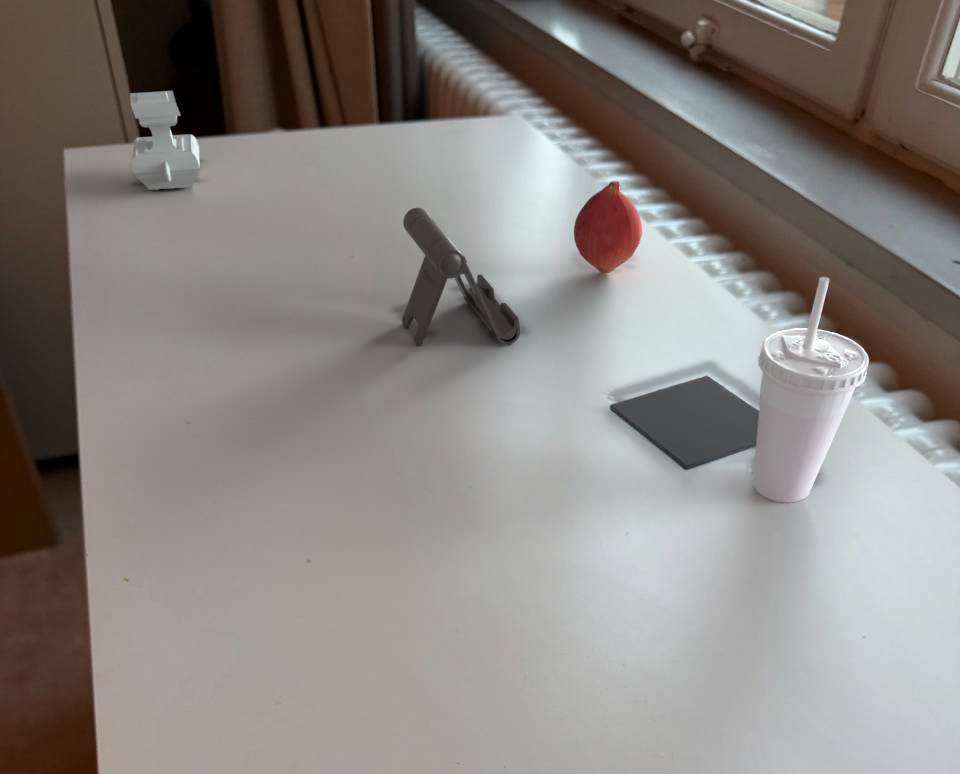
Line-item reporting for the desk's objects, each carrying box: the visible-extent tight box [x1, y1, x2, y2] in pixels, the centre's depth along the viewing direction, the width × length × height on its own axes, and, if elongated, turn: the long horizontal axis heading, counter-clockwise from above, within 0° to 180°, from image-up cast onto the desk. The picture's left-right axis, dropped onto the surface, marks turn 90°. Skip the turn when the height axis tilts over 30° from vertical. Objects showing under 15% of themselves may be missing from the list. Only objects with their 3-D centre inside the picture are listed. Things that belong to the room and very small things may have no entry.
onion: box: [573, 180, 643, 275], centre depth 89 cm, size 6×6×8 cm
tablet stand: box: [401, 207, 521, 347], centre depth 81 cm, size 9×8×8 cm
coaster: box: [609, 374, 759, 471], centre depth 74 cm, size 9×9×1 cm
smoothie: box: [752, 276, 870, 504], centre depth 63 cm, size 6×6×14 cm
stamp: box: [129, 90, 201, 191], centre depth 104 cm, size 9×7×8 cm
